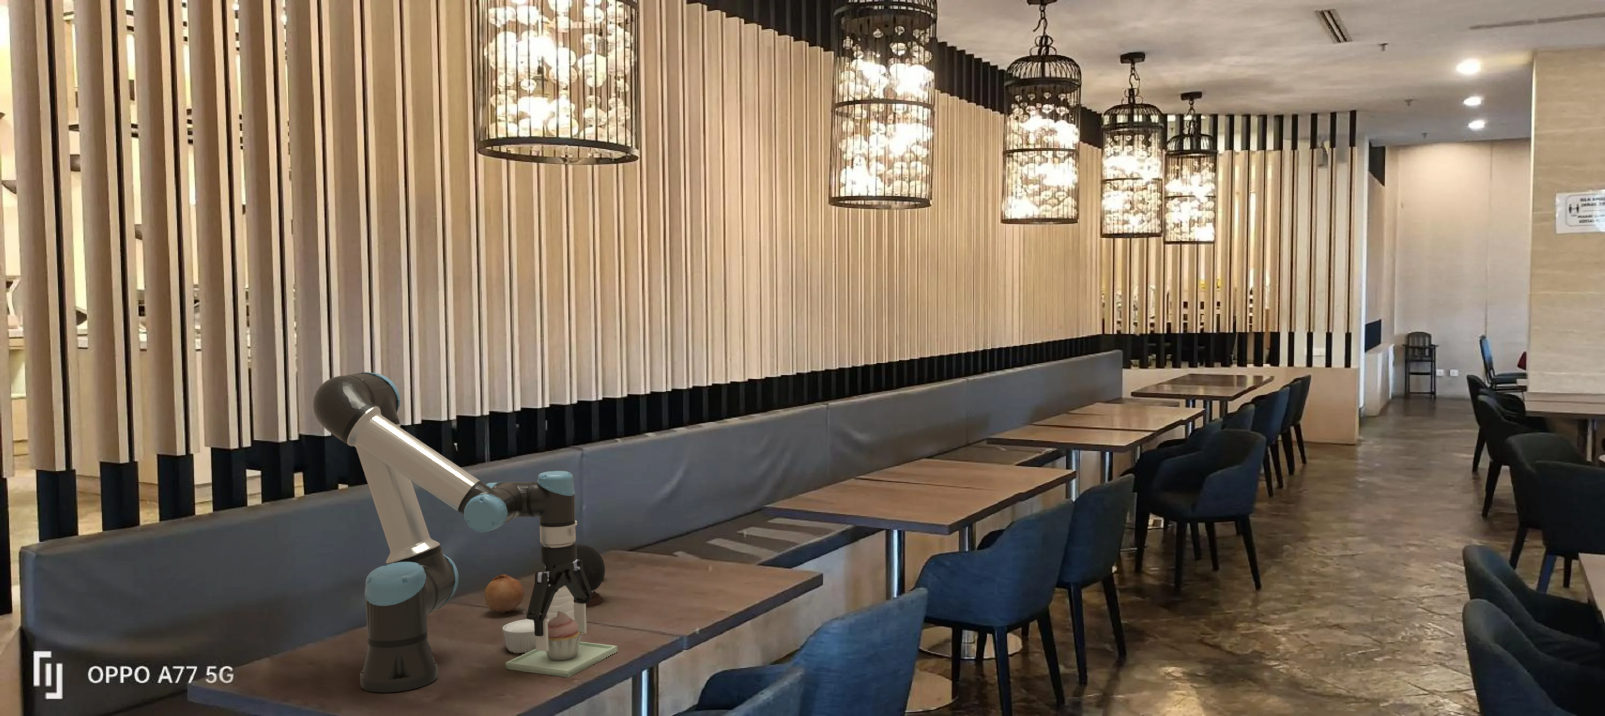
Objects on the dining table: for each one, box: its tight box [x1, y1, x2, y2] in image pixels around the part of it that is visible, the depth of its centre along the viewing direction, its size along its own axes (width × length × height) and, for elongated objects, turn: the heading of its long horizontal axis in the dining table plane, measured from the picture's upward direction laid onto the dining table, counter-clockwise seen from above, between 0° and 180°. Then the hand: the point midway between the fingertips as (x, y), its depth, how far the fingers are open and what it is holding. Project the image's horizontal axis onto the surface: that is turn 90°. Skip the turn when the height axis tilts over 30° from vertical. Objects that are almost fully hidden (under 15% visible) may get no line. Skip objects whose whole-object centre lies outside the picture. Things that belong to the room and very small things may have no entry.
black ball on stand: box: [573, 544, 606, 609], centre depth 294 cm, size 13×13×15 cm
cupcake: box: [546, 611, 584, 661], centre depth 246 cm, size 9×9×10 cm
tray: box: [505, 640, 618, 678], centre depth 246 cm, size 18×16×1 cm
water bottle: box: [546, 520, 578, 620], centre depth 271 cm, size 9×6×25 cm
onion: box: [484, 573, 525, 614], centre depth 285 cm, size 10×9×10 cm
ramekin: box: [501, 618, 549, 654], centre depth 256 cm, size 11×11×5 cm
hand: (562, 641), depth 246 cm, fingers open, 13 cm apart
